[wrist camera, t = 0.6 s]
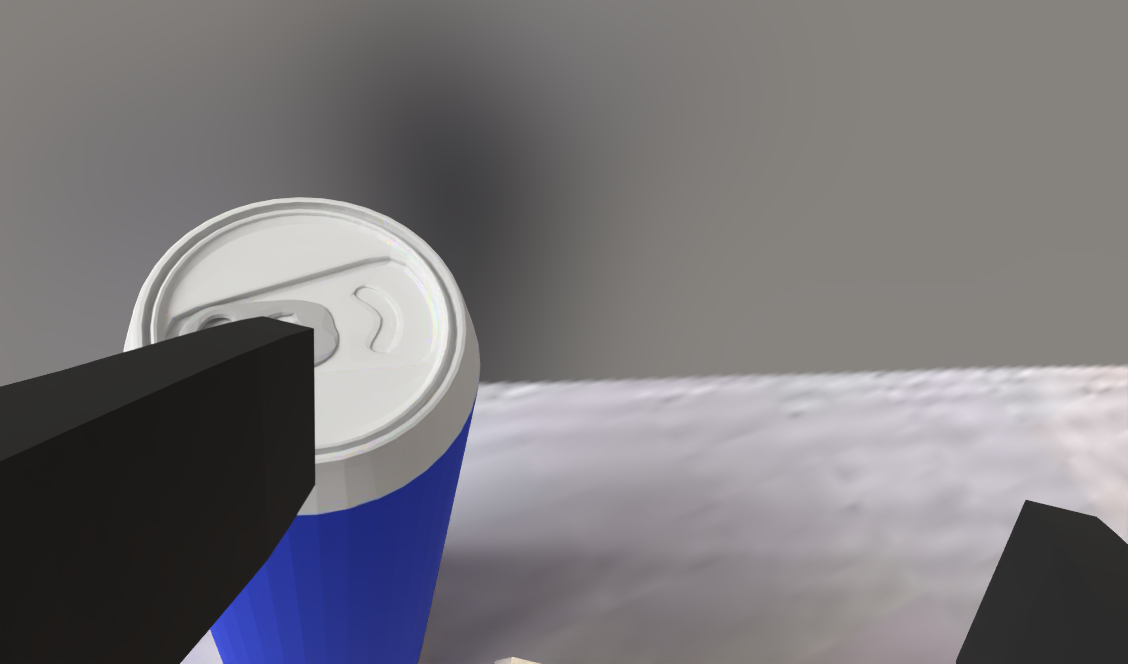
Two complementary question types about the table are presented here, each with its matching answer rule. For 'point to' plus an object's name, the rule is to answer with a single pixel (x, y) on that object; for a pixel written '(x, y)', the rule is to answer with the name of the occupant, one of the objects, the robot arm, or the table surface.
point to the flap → (514, 661)
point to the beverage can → (340, 417)
